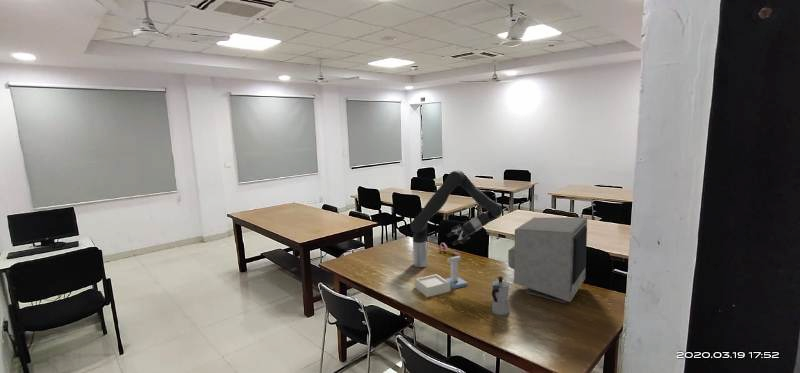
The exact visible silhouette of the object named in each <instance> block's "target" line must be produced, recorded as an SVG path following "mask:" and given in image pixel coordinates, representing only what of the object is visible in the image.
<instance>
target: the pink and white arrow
mask: <svg viewBox="0 0 800 373" xmlns="http://www.w3.org/2000/svg"><path fill="white" fill-rule="evenodd" d="M442 245H443V246H444V247H443V246H442ZM443 248H444V250H443ZM440 251H441V252H442V251H444V252H446V251H448V252H450V253H452V254H454V255H455V254H456V256H460V257H461V255H462V254H460V252H456V249H453V250H452V249H451V248H448V245H447V244H446V243H445V242H441V243H440Z"/></svg>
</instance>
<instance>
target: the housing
mask: <svg viewBox="0 0 800 373" xmlns="http://www.w3.org/2000/svg"><path fill="white" fill-rule="evenodd" d="M445 279H446V278H443V277H442V276H440V275H439V274H431V275H427V276H421V277H417V278H415V279H414V288H415V289H416V290H418V291H419V292H420V293H422V295H424V296H425V297H427V298H428V297H434V296H437V295H441V294H444V293H445V294H446V293H450V292H451V289H450V283H449V282H448V281H446V280H445Z"/></svg>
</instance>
